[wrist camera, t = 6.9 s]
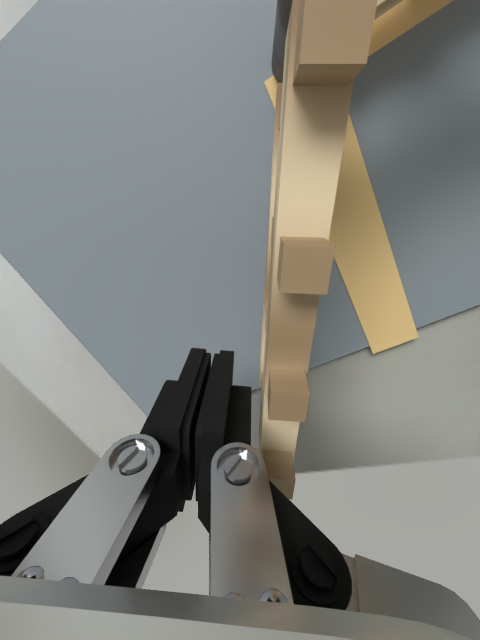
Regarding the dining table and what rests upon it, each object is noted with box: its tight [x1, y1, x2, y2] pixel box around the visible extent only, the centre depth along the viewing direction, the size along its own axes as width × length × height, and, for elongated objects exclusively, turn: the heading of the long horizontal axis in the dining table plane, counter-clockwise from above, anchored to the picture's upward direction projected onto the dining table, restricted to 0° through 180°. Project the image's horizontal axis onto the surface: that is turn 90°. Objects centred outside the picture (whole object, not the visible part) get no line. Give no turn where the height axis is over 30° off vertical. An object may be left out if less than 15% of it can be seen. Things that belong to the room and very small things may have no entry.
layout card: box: [0, 0, 480, 417], centre depth 12 cm, size 26×20×1 cm
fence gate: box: [259, 0, 378, 499], centre depth 9 cm, size 12×1×7 cm, turn 179°
